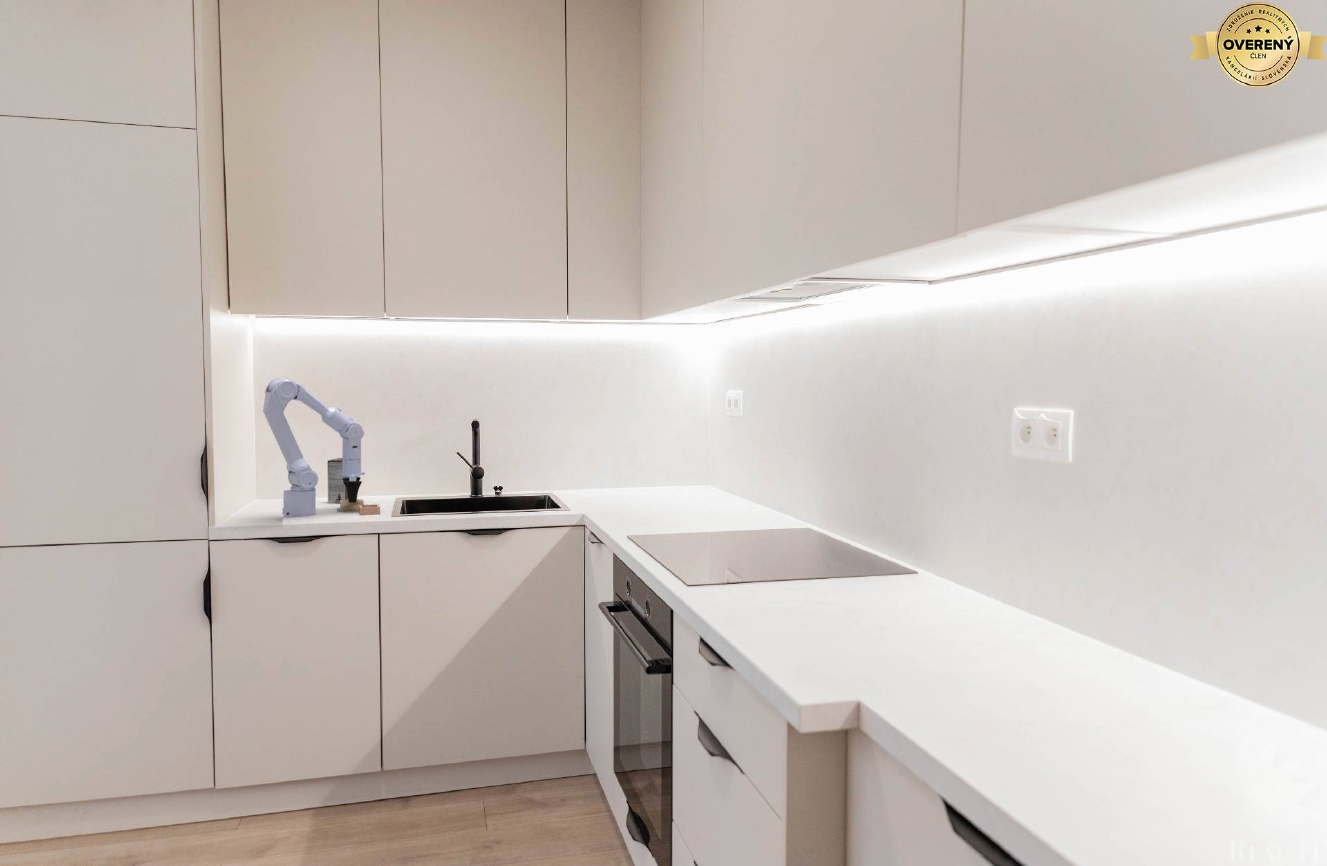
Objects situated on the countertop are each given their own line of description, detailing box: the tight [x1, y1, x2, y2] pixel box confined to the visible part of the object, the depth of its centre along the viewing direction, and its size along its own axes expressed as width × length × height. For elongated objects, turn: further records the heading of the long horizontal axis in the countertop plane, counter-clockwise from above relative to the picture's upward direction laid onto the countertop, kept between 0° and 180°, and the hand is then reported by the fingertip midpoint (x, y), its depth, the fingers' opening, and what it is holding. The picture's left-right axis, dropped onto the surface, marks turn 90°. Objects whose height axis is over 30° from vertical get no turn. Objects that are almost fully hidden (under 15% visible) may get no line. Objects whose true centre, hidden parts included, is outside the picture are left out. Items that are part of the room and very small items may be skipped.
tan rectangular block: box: [339, 498, 365, 512], centre depth 267 cm, size 7×5×3 cm
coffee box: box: [327, 457, 348, 505], centre depth 283 cm, size 9×6×16 cm
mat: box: [336, 508, 354, 513], centre depth 267 cm, size 9×7×1 cm
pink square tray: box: [358, 503, 381, 516], centre depth 261 cm, size 6×6×4 cm
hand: (352, 500), depth 267 cm, fingers open, 7 cm apart
